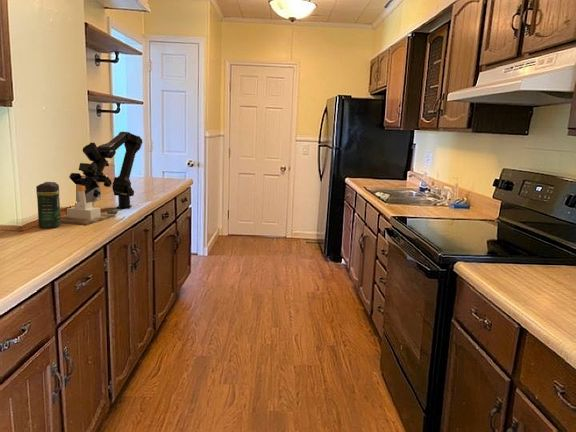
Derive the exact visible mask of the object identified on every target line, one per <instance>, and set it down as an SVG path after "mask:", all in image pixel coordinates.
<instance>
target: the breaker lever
mask: <svg viewBox="0 0 576 432" xmlns="http://www.w3.org/2000/svg"><path fill="white" fill-rule="evenodd" d="M76 190H77V191H78V194H79V201H80V207H81V208H83V204H85V203H86V198H85V190H86V188H85V186H81V185H78V186H76Z"/></svg>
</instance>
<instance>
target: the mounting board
mask: <svg viewBox="0 0 576 432" xmlns="http://www.w3.org/2000/svg"><path fill="white" fill-rule="evenodd" d="M100 213H101V216H100V217H97V218H94V219H81V218H71V217H67V214H66V215H62V216H61V224H72V225H82V226H89V225H92V224H96V223H98V222H99V223H100V222H102V221H104V220H108V219H111V217H112V218H114V217H116V213H115V214H107V213H104V212H100Z"/></svg>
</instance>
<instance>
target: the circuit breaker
mask: <svg viewBox="0 0 576 432" xmlns="http://www.w3.org/2000/svg"><path fill="white" fill-rule="evenodd" d="M76 186H78V185H76ZM81 186H82V185H81ZM98 186H99V187H97V188H95V189H93V190H91V191H90V192H88V193H87V194H85V198H86V203H89V202H92V207H94V202H98V201H101V200H102V198H101V197H102V196H101V195H102V193H101V185H98ZM76 201H77V203H78V202H80V201H79V194H78V191H77V190H76Z"/></svg>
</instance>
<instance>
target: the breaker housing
mask: <svg viewBox="0 0 576 432" xmlns="http://www.w3.org/2000/svg"><path fill="white" fill-rule="evenodd" d="M101 213H102V212H101V208H100V207H95V206H93V207H92V202H89V203H85V204H83V208H81V207H80V202H78V203H75V207H71V208H70V207H67V208H66V215H67V217H71V218H81V219H94V218H97V217H100V216H101Z"/></svg>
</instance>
